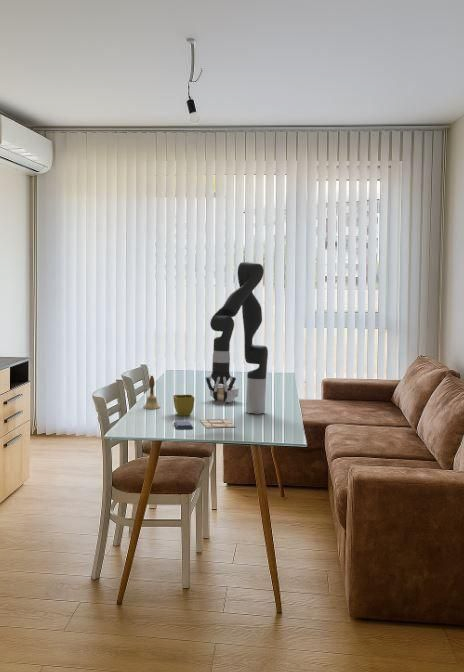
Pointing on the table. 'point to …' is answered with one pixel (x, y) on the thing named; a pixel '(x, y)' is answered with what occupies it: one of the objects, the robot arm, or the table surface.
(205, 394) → the table surface
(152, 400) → the hand bell
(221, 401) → the stamp
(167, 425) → the table surface
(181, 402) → the flower pot
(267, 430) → the table surface
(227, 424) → the sheet
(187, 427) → the ink pad
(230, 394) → the stone bowl
